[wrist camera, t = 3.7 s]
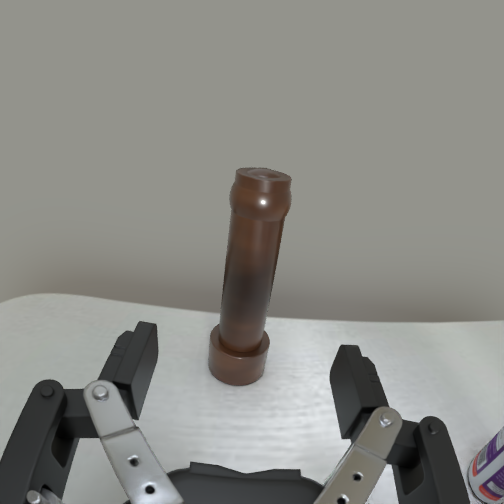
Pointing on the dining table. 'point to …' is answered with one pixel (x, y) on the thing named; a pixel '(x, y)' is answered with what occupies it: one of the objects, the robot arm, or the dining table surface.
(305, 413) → the dining table surface
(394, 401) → the dining table surface
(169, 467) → the dining table surface
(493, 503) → the pill bottle
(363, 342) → the dining table surface
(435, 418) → the robot arm
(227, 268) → the brown rolling pin handle
